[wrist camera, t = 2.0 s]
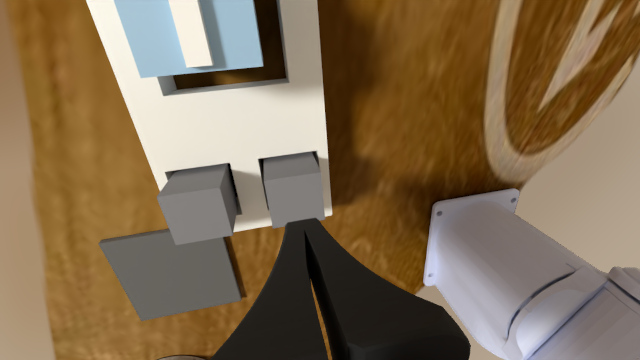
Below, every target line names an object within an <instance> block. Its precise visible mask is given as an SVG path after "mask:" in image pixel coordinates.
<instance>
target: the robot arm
mask: <svg viewBox="0 0 640 360" xmlns="http://www.w3.org/2000/svg"><path fill="white" fill-rule="evenodd" d="M519 195H520V192H519V191H518V190H517V189H515V188H513V189H507V190H501V191H496V192H490V193H484V194H478V195H473V196H467V197H461V198H455V199H450V200H444V201H438V202H436V203H435V204H434V205H433V207H432V214H431V223H430V231H429V239H428V247H427V255H426V263H425V271H424V279H423V282H424V284H425V285H426V286H432V285H435V286H436V287H437V288H438V290H439V291H440V292H441V294H442V295H443V296H444V298H445V299H446V300H447V302H448V304H449V305H450V306H451V308H452V309H453V310H454V312H455V313H456V314H457V316H458V317H459V319H460V320H461V321H462V323H463V324H464V326H465V327H466V328H467V330H468V331H469V332H470V334H471V335H472V336H473V338H474V339H475V340H476V341H477V342H478V343H479V344H480V345H481V346H483V347H484V348H485V349H487V350H488V351H490V352H491V353H493V354H494V355H496V356H498V357H500V358H502V359H505V360H640V269H638V268H621V267H613V268H612V269H611V270H610V272H609V273H608V274H607V273H605V272H602V271H600V270H598V269H597V268H595V267H593V266H592V265H591V264H589V263H588V262H586V261H585V260H583V259H582V258H580V257H579V256H577V255H575V254H574V253H573V252H571V251H569V250H568V249H567V248H565V247H564V246H562V245H561V244H559V243H558V242H556V241H555V240H553V239H551V238H550V237H548V236H547V235H545V234H544V233H542V232H541V231H539V230H538V229H536V228H535V227H533V226H532V225H530V224H529V223H527V222H526V221H524V220H523V219H521V218H520V217H518V216H517V215H515V214H514V212H515V209H516V205H517V202H518V198H519ZM437 212H439V213H437ZM310 278H311V280H310ZM311 281H312V285H313V288H314V291H315V295H316V298H317V301H318V304H319V308H320V311H321V314H322V318H323V321H324V324H325V328H326V332H327V336H328V341H329V346H330V350H331V355H332V360H468V359H469V356H470V347H471V345H470V343H469V341H468V338H467V337H466V336H465V334H464V333H463V331H462V330H461V329H460V327H459V326H458V325H457V323H456V322H455V321H454V320H453V318H452V317H451V316H450V315H449V314H448V313H447V312H446V311H445V309H444V308H443V307H442V306H439V305H437V304H434V303H432V302H429V301H427V300H424V299H422V298H420V297H417V296H415V295H413V294H411V293H409V292H407V291H405V290H403V289H401V288H399V287H397V286H395V285H393V284H392V283H390V282H388V281H386V280H385V279H383V278H381V277H380V276H378V275H377V274H375V273H374V272H372V271H371V270H369V269H368V268H366V267H365V266H364V265H362V264H361V263H360V262H359V261H357V260H356V259H355V258H354V257H352V256H351V255H350V254H349V253H348V252H347V251H346V250H345V249H344V248H343V247H341V246H340V245H339V243H338V242H337V241H336V240H335V239H334V238H333V237H332V236H331V235H330V234H329V233H328V232H327V231H326V229H325V228H324V227H323V226H322V224H321V223H320V222H319V220H318V219H317V218H310V219H304V220H298V221H293V222H288V223H287V224H286V225H285V233H284V238H283V242H282V245H281V248H280V251H279V254H278V257H277V259H276V262H275V264H274V267H273V269H272V271H271V273H270V276H269V278H268V280H267V282H266V283H265V285H264V287H263V289H262V291H261V292H260V294H259V296H258V297H257V299H256V301H255V302H254V304H253V306H252V307H251V309H250V310H249V312H248V313H247V314H246V316H245V317H244V318H243V320H242V321H241V323H240V324H239V325H238V327H237V328H236V329H235V331H234V332H233V333H232V334H231V336H230V337H229V338H228V339H227V340H226V342H225V343H224V344H223V345H222V346H221V347H220V349H219V350H218V351H217V352H216V353H215V354H214V355H213V357H212V358H211V359H210V360H328V355H327V351H326V347H325V343H324V339H323V335H322V331H321V327H320V323H319V319H318V315H317V310H316V306H315V302H314V298H313V293H312V289H311Z"/></svg>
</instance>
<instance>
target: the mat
mask: <svg viewBox="0 0 640 360" xmlns="http://www.w3.org/2000/svg"><path fill="white" fill-rule="evenodd" d="M99 245H100V247H101V249H102V251H103V253H104V254H105V256H106V258H107V260H108V262H109V263H110V265H111V267H112V269H113V271H114V272H115V274H116V276H117V278H118V280H119V281H120V283H121V285H122V287H123V289H124V290H125V292H126V294H127V296H128V298H129V299H130V301H131V303H132V305H133V306H134V308H135V310H136V312H137V314H138V315H139V317H140V319H141V321H144V320H149V319H153V318H158V317H163V316H168V315H173V314H178V313H183V312H188V311H193V310H198V309H202V308H207V307H212V306H217V305H222V304H227V303H232V302H237V301H241V298H242V296H241V293H240V290H239V286H238V283H237V279H236V276H235V273H234V269H233V266H232V262H231V259H230V256H229V252H228V249H227V245H226V242H225V239H224V237H221V238H215V239H209V240H203V241H197V242H192V243H186V244H180V245H176V244H175V242H174V239H173V237H172V234H171V232H170V229H165V230H159V231H153V232H147V233H141V234H135V235H129V236H123V237H117V238H111V239H105V240H101V241H100V242H99Z"/></svg>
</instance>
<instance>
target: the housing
mask: <svg viewBox="0 0 640 360" xmlns="http://www.w3.org/2000/svg"><path fill="white" fill-rule="evenodd" d="M86 1H87V4H88V7H89V9H90V12H91V14H92V17H93V20H94V22H95V25H96V27H97V30H98V32H99V35H100V38H101V40H102V43H103V45H104V48H105V50H106V53H107V56H108V58H109V61H110V63H111V66H112V69H113V71H114V74H115V76H116V79H117V81H118V84H119V87H120V89H121V92H122V94H123V97H124V99H125V102H126V105H127V107H128V110H129V112H130V115H131V118H132V120H133V123H134V125H135V128H136V130H137V133H138V136H139V138H140V141H141V143H142V146H143V148H144V151H145V154H146V156H147V159H148V161H149V164H150V166H151V169H152V172H153V174H154V177H155V179H156V182H157V185H158V187H159V190H160V192H161V190H162V189H163V187H164V186H165V185H166V183H167V182H168V180H169V179H170V178H171V176H172V175H173V173H174V172H175V171H176V170H181V169H188V168H195V167H203V166H210V165H217V164H224V163H230V165H231V169H232V173H233V177H234V182H235V186H236V190H237V194H238V197H236V200H237V204H238V207H237V213H236V219H235V225H234V231H233V232H236V231H242V230H248V229H254V228H260V227H266V226H271V225H272V221H271V216H270V211H269V206H268V200H267V195H266V190H265V185H264V172H263V167H262V162H261V158H267V157H274V156H281V155H289V154H296V153H303V152H310V151H313V156H314V158H315V160H316V162H317V164H318V167H319V169H320V171H321V177H322V189H323V200H324V212H325V216H330V215H332V205H331V190H330V176H329V162H328V148H327V133H326V119H325V105H324V91H323V77H322V62H321V48H320V34H319V20H318V5H317V0H276V1H277V9H278V17H279V25H280V33H281V41H282V49H283V57H284V65H285V72H286V78H285V79H275V80H266V81H256V82H246V83H237V84H227V85H217V86H208V87H198V88H188V89H179V90H177V88H176V84H175V81H174V78H173V75H169V76H158V77H148V78H141V77H140V75H139V72H138V69H137V66H136V63H135V60H134V57H133V54H132V52H131V49H130V46H129V43H128V40H127V37H126V34H125V32H124V29H123V26H122V23H121V20H120V17H119V14H118V12H117V9H116V6H115V3H114V0H86Z"/></svg>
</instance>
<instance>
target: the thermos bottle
mask: <svg viewBox="0 0 640 360" xmlns="http://www.w3.org/2000/svg"><path fill="white" fill-rule="evenodd" d="M158 360H205V359H202V358H199V357H193V356H171V357H166V358H161V359H158Z"/></svg>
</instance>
